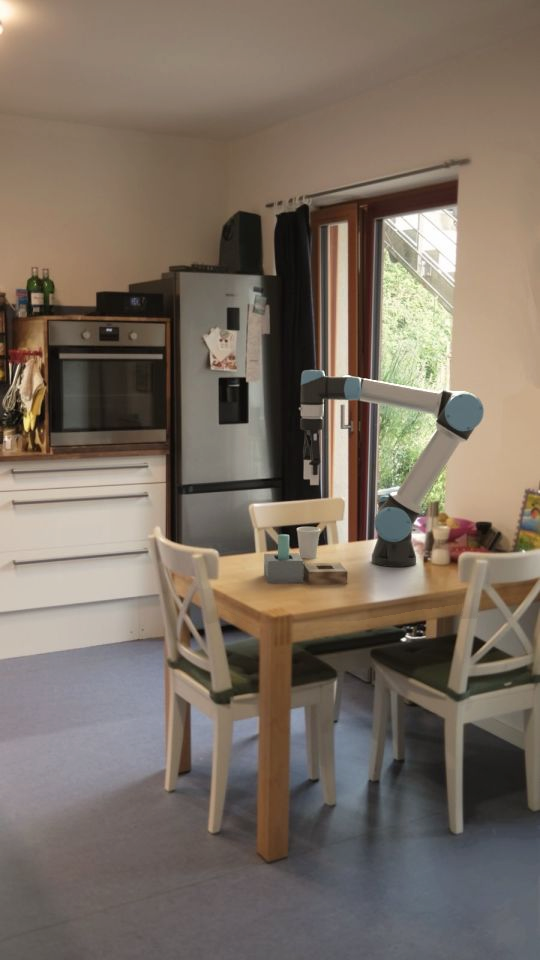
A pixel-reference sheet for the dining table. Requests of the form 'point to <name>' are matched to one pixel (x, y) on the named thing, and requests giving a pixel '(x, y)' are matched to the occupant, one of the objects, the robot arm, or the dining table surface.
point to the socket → (283, 568)
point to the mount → (324, 573)
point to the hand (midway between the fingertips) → (310, 482)
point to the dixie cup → (308, 541)
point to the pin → (283, 546)
